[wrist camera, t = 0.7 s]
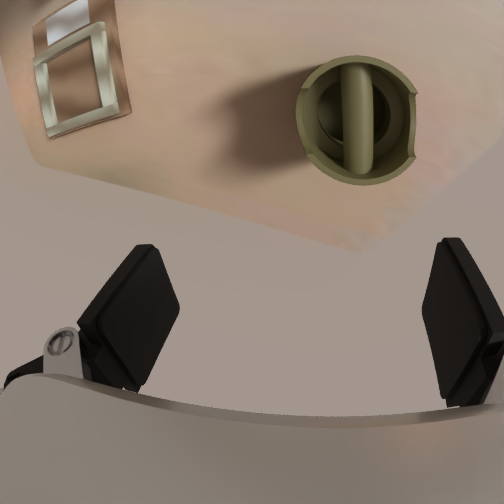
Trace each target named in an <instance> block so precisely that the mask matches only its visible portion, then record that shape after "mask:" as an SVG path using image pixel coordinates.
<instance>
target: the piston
mask: <svg viewBox="0 0 504 504" xmlns="http://www.w3.org/2000/svg"><path fill="white" fill-rule="evenodd" d="M417 93H418V92H417V90H416V88H415V87H414V85H413V84H412V83H411V81H410V80H409V79H408V78H407V77H406V76H405V75H404V74H403V73H402V72H400V71H399V70H398V69H397V68H395V67H394V66H392V65H390V64H388V63H386V62H384V61H382V60H379V59H376V58H372V57H368V56H345V57H340V58H337V59H334V60H331V61H329V62H327V63H325V64H323V65H322V66H320V67H319V68H317V69H316V70H315V71H314V72H313V73H312V74H311V75H310V76H309V77H308V78H307V80H306V81H305V82H304V84H303V85H302V87H301V89H300V92H299V94H298V98H297V102H296V122H297V128H298V132H299V135H300V138H301V141H302V144H303V147H304V150H305V154H306V156H307V157H308V158H309V160H310V161H311V162H312V163H313V164H314V165H315V166H316V167H317V168H318V169H319V170H321V171H322V172H323V173H325V174H326V175H328V176H330V177H332V178H333V179H336V180H338V181H341V182H344V183H347V184H352V185H375V184H380V183H383V182H386V181H389V180H391V179H393V178H395V177H397V176H398V175H400V174H401V173H403V172H404V171H405V170H406V169H407V168H408V167H409V166H410V165H411V164H412V163H413V162H414V160H415V159H416V156H415V153H414V142H415V131H416V102H415V96H416V94H417Z"/></svg>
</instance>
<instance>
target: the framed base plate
mask: <svg viewBox="0 0 504 504" xmlns="http://www.w3.org/2000/svg"><path fill="white" fill-rule="evenodd" d="M33 38H34V47H35V55H36V57H35V58H33V61H34V68H35V74H36V80H37V86H38V92H39V97H40V102H41V107H42V111H43V116H44V120H45V125H46V129H47V133H48V137H50V136H51V138H55V137H57V136H60V135H63V134H66V133H68V132H71V131H74V130H77V129H80V128H83V127H86V126H89V125H92V124H95V123H99V122H102V121H105V120H109V119H112V118H115V117H119V116H123V115H126V114H129V113H132V110H131V105H130V100H129V95H128V90H127V84H126V79H125V73H124V68H123V62H122V55H121V49H120V42H119V35H118V28H117V20H116V12H115V3H114V0H73V1H71V2H69V3H68V4H66V5H64V6H63V7H61V8H60V9H58V10H57V11H55V12H53V13H52V14H50V15H49V16H47V17H46V18H45V19H43V20H42V21H40V22H39V23H37V24H36V25H35V26H33Z"/></svg>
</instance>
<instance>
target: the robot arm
mask: <svg viewBox="0 0 504 504" xmlns="http://www.w3.org/2000/svg"><path fill="white" fill-rule="evenodd" d="M179 309H180V307H179V303H178V300H177V297H176V295H175V292H174V290H173V287H172V284H171V282H170V279H169V276H168V274H167V271H166V268H165V266H164V263H163V260H162V257H161V255H160V252H159V250H158V249H157V248H155V247H154V246H153V245H152V244H144V245H143V244H142V245H136V246H135V247H134V249H133V250H132V251H131V252H130V253H129V255H128V256H127V257H126V258H125V260H124V261H123V262H122V263H121V264H120V266H119V267H118V268H117V269H116V271H115V272H114V274H113V275H112V276H111V277H110V278H109V280H108V281H107V282H106V283H105V285H104V286H103V287H102V289H101V290H100V291H99V293H98V294H97V295H96V297H95V298H94V300H92V302H91V303H90V305H89V306H88V307H87V309H86V310H85V311H84V313H83V314H82V315H81V317H80V318H79V320H78V321H77V324H78V325H79V327H80V331H79V332H78V331H77V330H76V329H75V328H72V327H65V328H61V329H59V330H57V331H55V332H54V333H53V334H52V335H51V336H50V337H49V338H48V340H47V341H46V343H45V346H44V355H42V356H40V357H39V358H36V359H35V360H33V361H30V362H28V363H27V364H24V365H22V366H21V367H18V368H17V369H15V370H13V371H11V372H10V373H9V374H8V376H7V378H6V381H5V383H4V390H3V389H2V388H1V389H0V504H504V316H503V314H502V312H501V310H500V308H499V306H498V303H497V301H496V299H495V298H494V296H493V294H492V292H491V290H490V288H489V286H488V285H487V282H486V281H485V279H484V277H483V275H482V274H481V272H480V270H479V268H478V266H477V265H476V263H475V261H474V259H473V258H472V256H471V254H470V253H469V251H468V250H467V248H466V247H465V245H464V243H463V242H462V240H461V239H460V238H443V239H442V241H441V242H439V243H437V246H436V251H435V255H434V260H433V265H432V269H431V273H430V278H429V282H428V286H427V290H426V293H425V297H424V301H423V305H422V316H423V320H424V323H425V327H426V331H427V335H428V339H429V342H430V347H431V351H432V355H433V360H434V364H435V369H436V374H437V379H438V384H439V389H440V395H441V397H442V399H446V405H447V408H448V407H454V406H460V407H458V408H452V409H444V410H436V411H427V412H418V413H407V414H406V413H405V414H393V415H378V416H349V417H323V416H320V417H319V416H292V415H276V414H263V413H252V412H243V411H234V410H226V409H219V408H212V407H205V406H199V405H193V404H187V403H181V402H176V401H170V400H166V399H160V398H156V397H151V396H147V395H142V394H138V391H139V389H140V387H141V385H144V384H145V383H146V381H147V379H148V377H149V375H150V372H151V370H152V368H153V366H154V364H155V362H156V360H157V358H158V355H159V353H160V351H161V349H162V347H163V345H164V343H165V341H166V339H167V337H168V335H169V333H170V331H171V328H172V326H173V324H174V322H175V320H176V318H177V316H178V314H179ZM123 387H124V388H125V389H126V390H128V391H126V390H122V388H123ZM130 391H132V392H130ZM134 392H136V393H134Z"/></svg>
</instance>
